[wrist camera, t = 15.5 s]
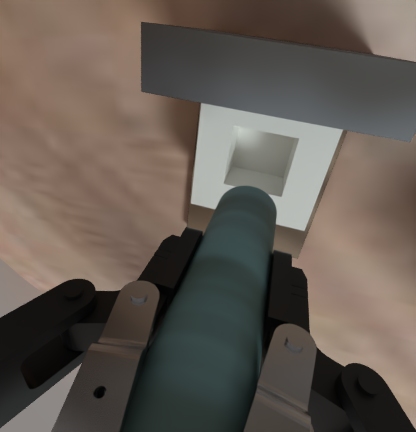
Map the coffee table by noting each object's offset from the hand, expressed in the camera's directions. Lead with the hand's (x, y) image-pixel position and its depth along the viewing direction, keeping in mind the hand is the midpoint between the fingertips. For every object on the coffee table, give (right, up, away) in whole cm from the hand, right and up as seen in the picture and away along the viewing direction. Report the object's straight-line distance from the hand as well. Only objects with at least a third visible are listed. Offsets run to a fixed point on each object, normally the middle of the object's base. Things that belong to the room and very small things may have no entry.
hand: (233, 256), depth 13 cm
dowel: (+1, +2, +3) cm, 4 cm away
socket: (+4, +8, +14) cm, 17 cm away
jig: (+4, +7, +16) cm, 18 cm away
